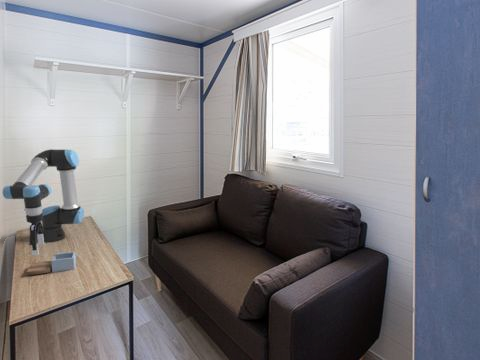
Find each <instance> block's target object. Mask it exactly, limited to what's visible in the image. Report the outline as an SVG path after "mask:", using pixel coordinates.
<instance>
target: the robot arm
mask: <svg viewBox="0 0 480 360" xmlns="http://www.w3.org/2000/svg"><path fill="white" fill-rule="evenodd" d="M79 161H80V159H79V156H78V153H77V152H76V151H75V150H72V149H51V148H50V149H46V150H44V151H41V152H39V153H38V154H36V155H35V156H34V157H33V158H32V159H31V160H30V164H29V165H28V166H27V168H25V170H24V171H23V172H22V174H20V176H19V177H18V178H17V180H16V181H15V182H14V183H13V184H12V185H6V186H4V187H3V188H2V197H4V198H5V199H6V200H23V202H24V209H23V211H25V218H26V219H25V220H26V222H27V223H30V224H31V225H30V226H29V244H28V245H29V246H30V247H31V253H32V257H33V256H39V255H40V252H39V246H43V245H45V243H51V242H52V243H53V242H57V241H61V240H63V239H64V238H66V232H65V230H64V228H63V225H78V224H81V223H82V222H83V220H84V216H85V209H84V207H81V204H80V203H78V196H77V195H78V194H77V187H76V178H75V177H76V176H75V170H76V169H77V167H78V166H79V164H80V163H79ZM53 167H56V171H57V172H59V176H60V177H59V178H60V184H61V185H60V187H61V194H62V200H63V205H62V206H60V205H56V204H55V205H50V206H47V207H44V208H43V206H42V200H44V199H46V198H47V197H49V195H51V193H52V188H51V186H50V185H49V184H45V183H42V184H39V185H33V184H34V183H35V181H36V180H37V178H38V177H39V176H40V174H41V173H42V172H43V171H45V170H46V169H47V168H53Z"/></svg>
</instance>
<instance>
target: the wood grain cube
mask: <svg viewBox="0 0 480 360" xmlns="http://www.w3.org/2000/svg"><path fill="white" fill-rule="evenodd" d="M51 272H52V265H51V260H46V261H40V262H39V261H38V262H32V263H30V265H29V267H28V268H27V270H26V272H25V273H26V276H33V275H40V274H42V275H43V274H47V273H51Z"/></svg>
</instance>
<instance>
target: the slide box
mask: <svg viewBox="0 0 480 360" xmlns="http://www.w3.org/2000/svg"><path fill="white" fill-rule="evenodd" d="M50 261H51V265H52V269H51V273H57V272H64V271H70V270H75V269H76V265H77V256H76V251H69V252H59V253H54V254H53V257H52V259H51V260H50Z"/></svg>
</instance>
